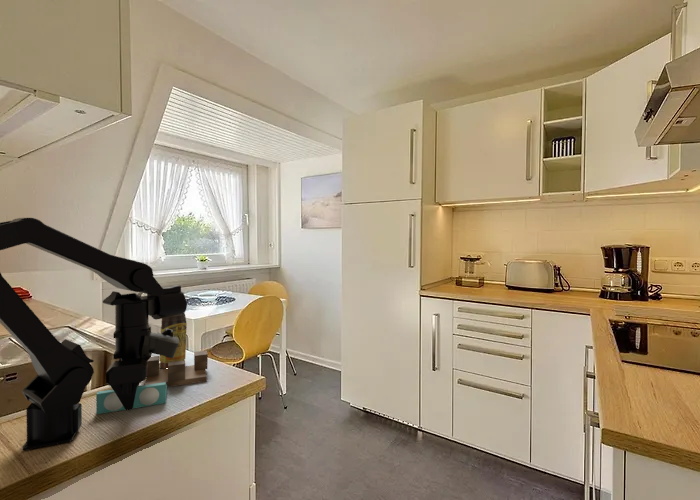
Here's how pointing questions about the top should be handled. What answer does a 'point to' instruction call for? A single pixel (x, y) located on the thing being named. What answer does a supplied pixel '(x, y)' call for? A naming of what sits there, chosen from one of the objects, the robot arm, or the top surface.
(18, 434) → the top surface
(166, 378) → the stand
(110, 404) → the glasses
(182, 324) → the sauce bottle
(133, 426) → the top surface
